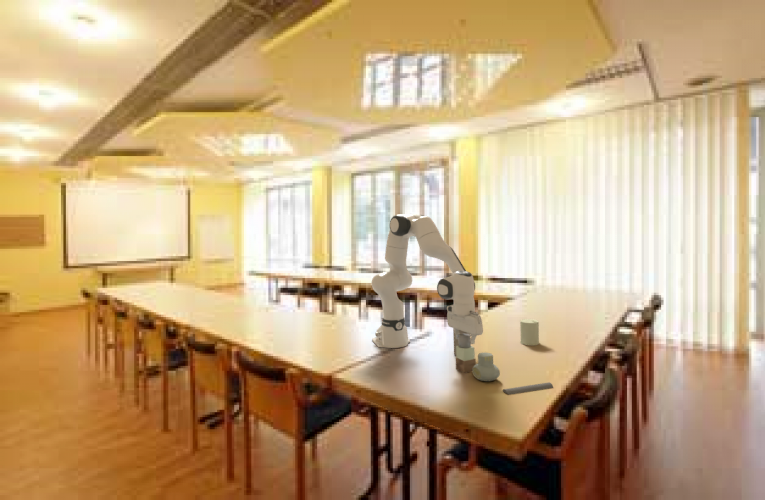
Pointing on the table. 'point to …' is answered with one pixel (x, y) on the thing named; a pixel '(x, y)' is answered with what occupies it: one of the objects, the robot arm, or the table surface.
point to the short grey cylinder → (464, 340)
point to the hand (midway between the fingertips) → (464, 341)
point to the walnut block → (465, 365)
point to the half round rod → (528, 388)
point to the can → (529, 331)
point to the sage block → (465, 353)
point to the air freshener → (485, 368)
